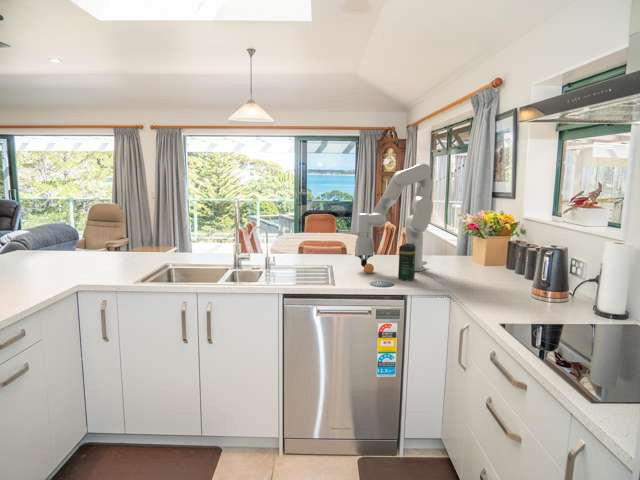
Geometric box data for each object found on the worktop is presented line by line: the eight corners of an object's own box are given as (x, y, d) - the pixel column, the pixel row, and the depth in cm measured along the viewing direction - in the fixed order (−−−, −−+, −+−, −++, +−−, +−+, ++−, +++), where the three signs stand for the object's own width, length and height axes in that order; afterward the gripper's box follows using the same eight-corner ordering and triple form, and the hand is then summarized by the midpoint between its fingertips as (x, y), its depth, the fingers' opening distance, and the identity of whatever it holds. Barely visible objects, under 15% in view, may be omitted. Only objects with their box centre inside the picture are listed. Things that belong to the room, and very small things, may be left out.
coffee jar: (411, 281, 206) (412, 245, 204) (396, 280, 210) (397, 244, 207) (416, 277, 215) (417, 243, 212) (401, 276, 218) (402, 242, 216)
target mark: (381, 280, 210) (381, 279, 210) (399, 284, 200) (399, 284, 200) (364, 283, 203) (364, 283, 203) (382, 288, 193) (382, 288, 193)
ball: (368, 271, 230) (369, 262, 229) (375, 273, 225) (375, 263, 225) (361, 273, 227) (361, 263, 226) (368, 274, 222) (368, 264, 221)
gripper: (353, 235, 228) (352, 268, 230) (379, 235, 230) (378, 267, 232) (350, 234, 235) (349, 265, 238) (375, 234, 237) (374, 265, 240)
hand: (363, 266), depth 235 cm, fingers closed
